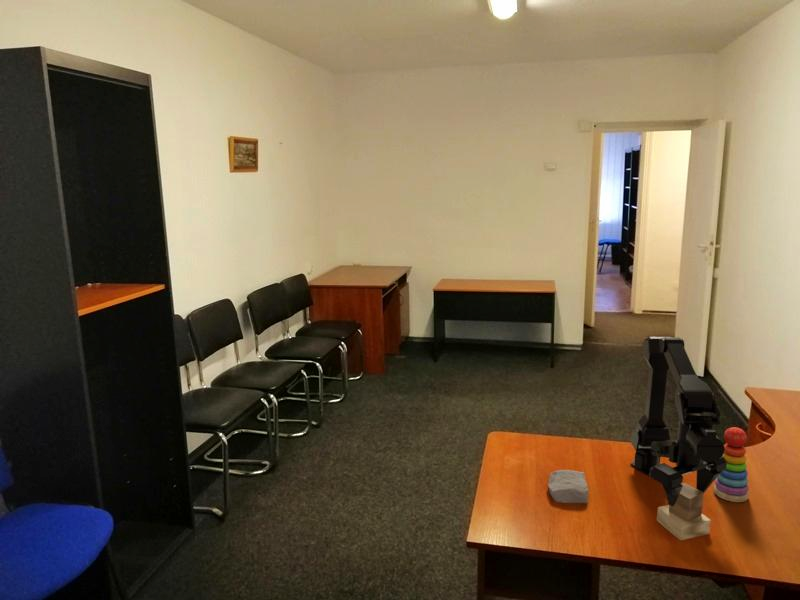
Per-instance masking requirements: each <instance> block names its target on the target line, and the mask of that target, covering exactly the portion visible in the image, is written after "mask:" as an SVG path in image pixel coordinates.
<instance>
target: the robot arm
mask: <svg viewBox="0 0 800 600" xmlns="http://www.w3.org/2000/svg"><path fill="white" fill-rule="evenodd" d="M641 344H642V346H641V347H642V353H643V357H644V359H645V361H646V362H647V364H648V375H647V384H646V385H647V386H646V395H645V409H644V414H643V415H642V416H641V418H640V419H639V420H638V421H637V425H636V426H637V427H636V429H635V430H634V431H633V433H632V434H631V435H630V443H631V445H632V446H633V449H634V450H635V453H634V461H632V462H630V465H631V466H632V467H634V468H635V469H637V470H639V471H641V472H642V473H644V474H646V475H649V477H650V478H651V479H652V480H654V481H656V482H658V483H660V484H661V486H662V488H663V490H664V493H665V497H666V500H667V502H668V505H670V506H672V507H673V506H674V505H675V503H676V501H677V498H678V496H679V494H680V491H681V489H682V487H683V485H681V484H683V483H684V482H683V480H684V476H685V475H687V474H691V473H694V472H696V486H695V488H696V489H698V490H700V491H702V492H704V494H705V492H706V491H707V490H708V489H709V488H710V487H711V485H712V484H713V482H715V480H716V479H717V477H718V476H719V475H720V474H721V473H722V471H723V470H726V466H727V462H726V460H725V458H724V457H722V456H723V454H724V451H725V447H724V445H725V444H724V443H723V441H722V439H720V437H718V436H717V431H716V430H715V429H713V426H720V424H721V422H720V418H721V417H722V416H721V413H720V409H719V405H718V401H717V399H716V395H715V393H713V391H712V390H711V388H710V387H709V385H708V383H707V382H705V381H704V380H702V379H701V378H699V377H698V375H697V373H696V370H695V369H694V367H693V365H692V362H691V360H690V358H689V355H688V353H687V351H686V349H685V341H684V339H683V338H680V337H673V336H672V335H671V336H669V335H668V336H667V335H665V336H664V335H662V336H660V335H659V336H656V335H655V336H654V335H653V336H651V335H649V336H647V337H646V338H644V340H643V341H642V343H641ZM669 370H670V373H671V374H672V377H673V381H674V382H675V385H676V391H675V393H674V403H675V408H676V411H677V415H678V428H677V439H676V440H674V439H673V440H672V438H671V435H670V430H669V428H668V427H667V424H666V423H665V421H664V412H665V402H666V394H667V383H668V374H669V373H668V372H669ZM701 414H705V415H701ZM706 414H710V415H706ZM661 458H668V461H669V462H670V463H675V465H676V466H673V467H672V466H671V465H669V464H667V463H665V462H663V463H661Z"/></svg>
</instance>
